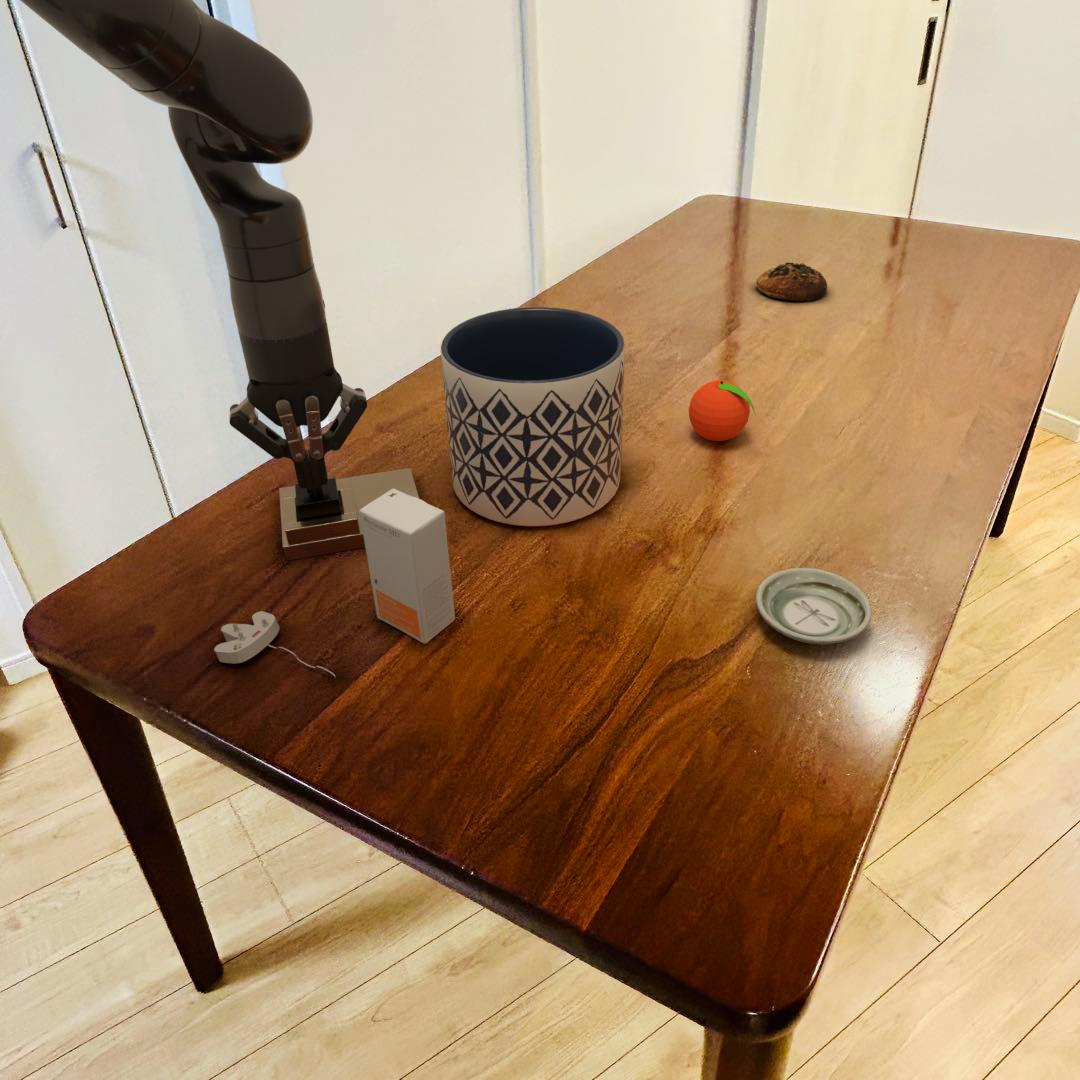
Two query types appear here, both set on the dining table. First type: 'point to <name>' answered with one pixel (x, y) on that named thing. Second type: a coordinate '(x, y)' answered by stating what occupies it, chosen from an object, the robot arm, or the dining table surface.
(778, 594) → the saucer
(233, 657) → the game controller
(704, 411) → the clementine
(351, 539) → the keypad
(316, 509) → the key
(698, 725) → the dining table surface
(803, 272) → the bread roll
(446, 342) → the planter
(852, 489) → the dining table surface
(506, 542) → the dining table surface
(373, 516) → the cosmetic box
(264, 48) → the robot arm
